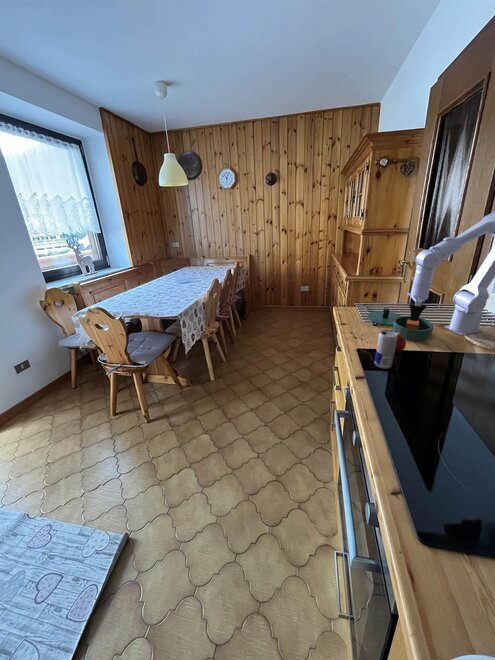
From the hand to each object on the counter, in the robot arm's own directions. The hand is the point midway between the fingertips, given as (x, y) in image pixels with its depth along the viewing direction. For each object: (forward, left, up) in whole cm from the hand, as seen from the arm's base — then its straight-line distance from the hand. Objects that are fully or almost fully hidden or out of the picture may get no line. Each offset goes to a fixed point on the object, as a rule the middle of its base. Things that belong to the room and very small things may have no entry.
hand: (414, 316), depth 111 cm
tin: (+1, +2, -7) cm, 7 cm away
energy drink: (+25, +16, -7) cm, 31 cm away
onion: (+16, +11, -7) cm, 21 cm away
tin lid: (+1, -13, -6) cm, 15 cm away
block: (0, 0, -6) cm, 6 cm away
